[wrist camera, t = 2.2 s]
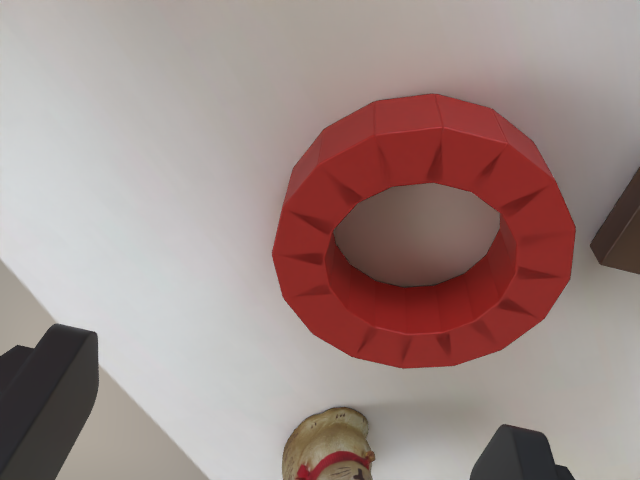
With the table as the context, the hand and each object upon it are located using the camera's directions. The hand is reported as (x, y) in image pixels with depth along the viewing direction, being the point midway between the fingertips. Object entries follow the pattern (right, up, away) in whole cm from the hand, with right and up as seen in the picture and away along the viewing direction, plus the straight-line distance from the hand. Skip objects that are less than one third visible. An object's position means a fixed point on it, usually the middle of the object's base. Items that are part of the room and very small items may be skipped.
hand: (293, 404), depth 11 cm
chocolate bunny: (+1, -9, +24) cm, 26 cm away
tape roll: (+5, +4, +15) cm, 16 cm away
